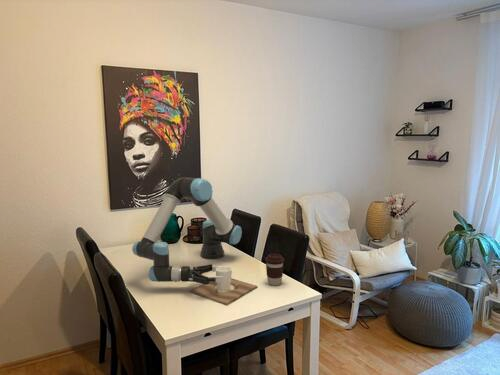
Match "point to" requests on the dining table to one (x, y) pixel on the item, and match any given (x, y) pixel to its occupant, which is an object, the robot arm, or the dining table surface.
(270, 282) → the coffee cup
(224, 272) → the white cup
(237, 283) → the brown flat square piece
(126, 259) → the dining table surface
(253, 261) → the dining table surface
